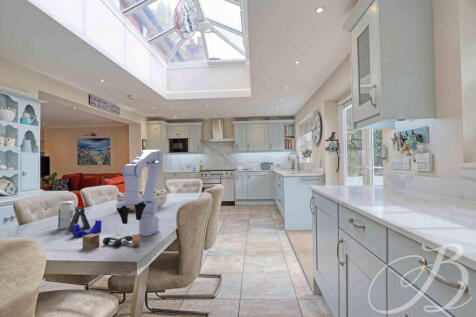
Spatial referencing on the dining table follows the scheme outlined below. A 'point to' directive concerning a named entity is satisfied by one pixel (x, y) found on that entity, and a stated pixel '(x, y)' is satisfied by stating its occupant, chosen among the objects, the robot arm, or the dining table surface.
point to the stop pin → (134, 240)
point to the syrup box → (65, 214)
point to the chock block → (90, 241)
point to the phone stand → (76, 218)
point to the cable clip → (79, 233)
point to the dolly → (117, 239)
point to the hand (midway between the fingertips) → (131, 221)
